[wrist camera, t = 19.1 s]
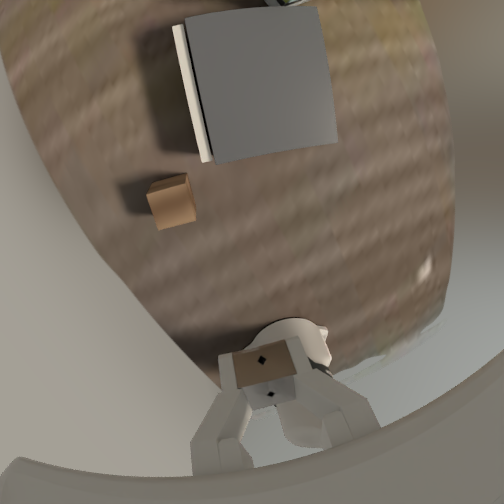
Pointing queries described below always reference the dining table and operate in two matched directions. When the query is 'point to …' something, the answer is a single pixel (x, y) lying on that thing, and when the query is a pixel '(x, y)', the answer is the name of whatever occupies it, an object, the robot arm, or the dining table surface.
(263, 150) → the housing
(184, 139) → the dining table surface
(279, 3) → the tea box
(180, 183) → the wooden block
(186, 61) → the cream drawer
